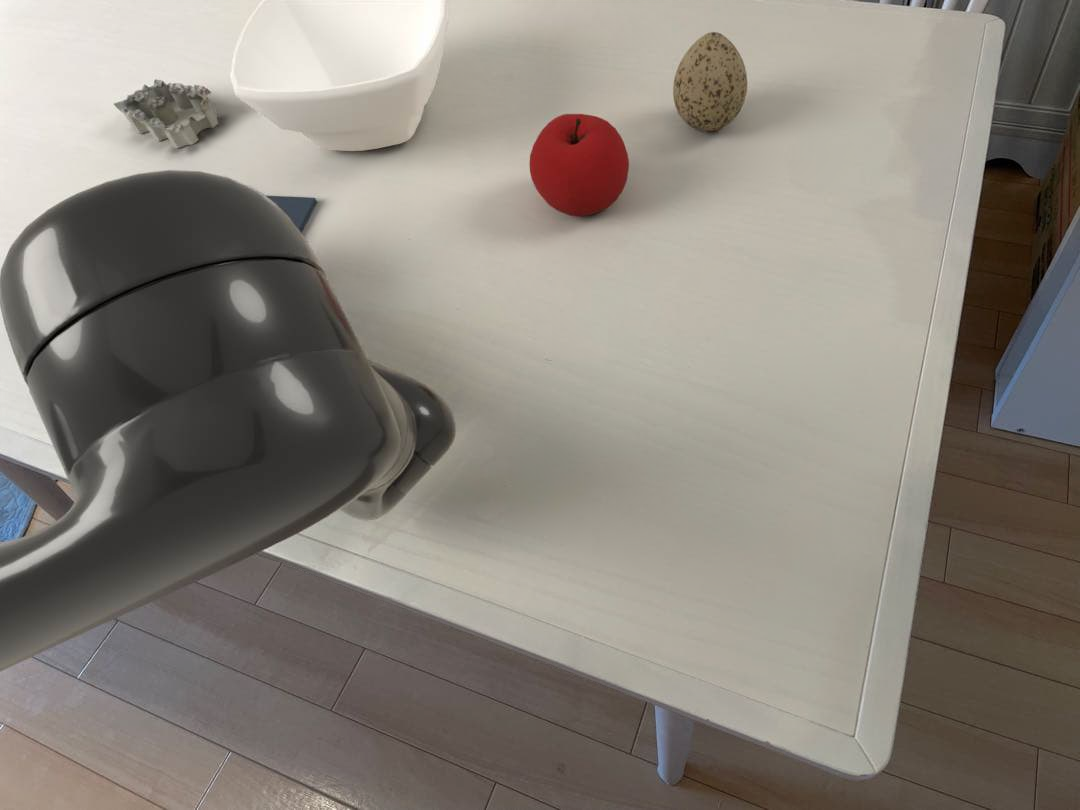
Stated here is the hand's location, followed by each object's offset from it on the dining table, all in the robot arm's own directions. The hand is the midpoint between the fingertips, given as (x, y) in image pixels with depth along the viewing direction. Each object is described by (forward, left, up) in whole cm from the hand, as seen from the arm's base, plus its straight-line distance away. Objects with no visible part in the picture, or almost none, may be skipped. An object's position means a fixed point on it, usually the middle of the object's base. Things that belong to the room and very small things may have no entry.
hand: (172, 235), depth 72 cm
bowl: (+26, -9, -7) cm, 28 cm away
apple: (+15, -35, -7) cm, 38 cm away
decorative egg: (+27, -46, -7) cm, 53 cm away
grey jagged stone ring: (+25, +16, -7) cm, 30 cm away
